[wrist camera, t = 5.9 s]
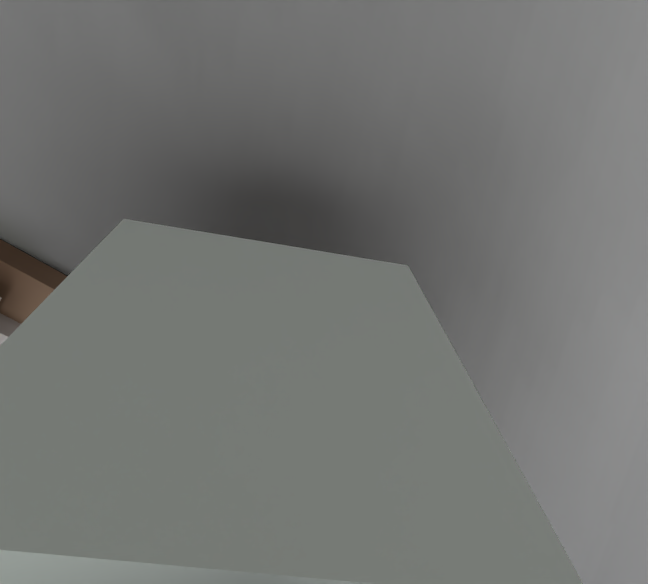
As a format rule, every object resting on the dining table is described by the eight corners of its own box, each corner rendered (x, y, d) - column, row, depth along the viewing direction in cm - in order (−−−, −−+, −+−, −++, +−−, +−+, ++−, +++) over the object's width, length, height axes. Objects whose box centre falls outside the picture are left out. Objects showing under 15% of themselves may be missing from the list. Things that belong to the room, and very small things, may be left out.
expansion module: (410, 265, 9) (629, 651, 3) (326, 582, 12) (363, 1107, 6) (120, 217, 8) (-240, 581, 3) (100, 561, 11) (-105, 1120, 5)
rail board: (482, 505, 21) (547, 658, 16) (356, 631, 24) (375, 801, 18) (-201, 128, 15) (-474, 174, 10) (-282, 353, 17) (-537, 491, 12)
